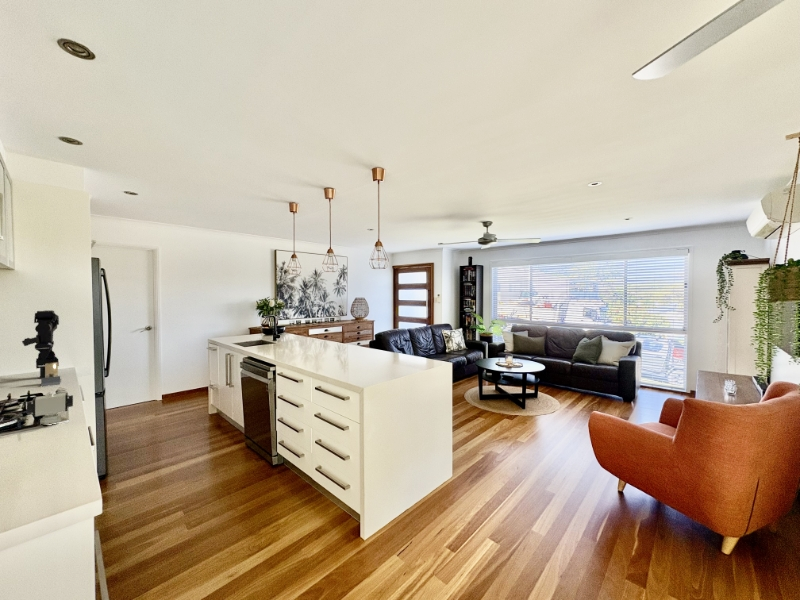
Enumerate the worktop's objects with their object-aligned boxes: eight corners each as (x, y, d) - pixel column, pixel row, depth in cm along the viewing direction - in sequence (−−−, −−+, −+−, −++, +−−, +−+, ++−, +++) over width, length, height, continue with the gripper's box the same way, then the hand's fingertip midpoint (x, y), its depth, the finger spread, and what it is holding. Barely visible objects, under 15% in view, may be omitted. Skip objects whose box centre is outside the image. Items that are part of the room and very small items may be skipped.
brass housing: (45, 380, 180) (45, 363, 180) (58, 379, 183) (58, 362, 183) (44, 382, 177) (44, 364, 177) (57, 380, 180) (57, 363, 180)
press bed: (43, 383, 180) (43, 375, 180) (61, 381, 185) (61, 373, 185) (41, 386, 174) (41, 378, 174) (59, 384, 178) (59, 376, 178)
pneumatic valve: (72, 422, 124) (72, 391, 124) (26, 430, 115) (26, 397, 115) (72, 418, 128) (73, 388, 128) (28, 426, 119) (28, 394, 119)
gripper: (26, 332, 186) (25, 358, 186) (20, 334, 173) (20, 363, 173) (54, 330, 194) (53, 356, 194) (51, 333, 181) (50, 360, 181)
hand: (44, 358), depth 185 cm, fingers open, 9 cm apart
